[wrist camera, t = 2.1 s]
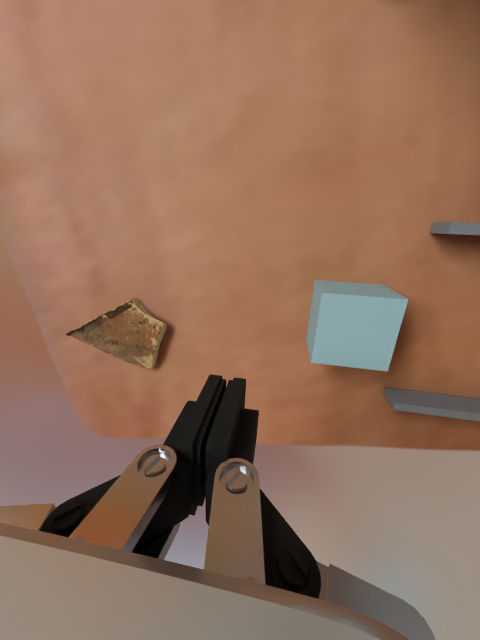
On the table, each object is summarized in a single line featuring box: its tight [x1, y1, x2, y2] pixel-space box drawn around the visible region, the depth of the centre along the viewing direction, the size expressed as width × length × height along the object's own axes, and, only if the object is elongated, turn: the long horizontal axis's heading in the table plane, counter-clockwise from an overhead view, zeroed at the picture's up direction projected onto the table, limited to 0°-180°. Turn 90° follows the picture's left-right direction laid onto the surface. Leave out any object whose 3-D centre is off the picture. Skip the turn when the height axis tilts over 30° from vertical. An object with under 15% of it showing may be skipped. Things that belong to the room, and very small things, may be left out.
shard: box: [66, 298, 167, 369], centre depth 28 cm, size 11×8×2 cm
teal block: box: [306, 280, 408, 372], centre depth 22 cm, size 6×6×5 cm
